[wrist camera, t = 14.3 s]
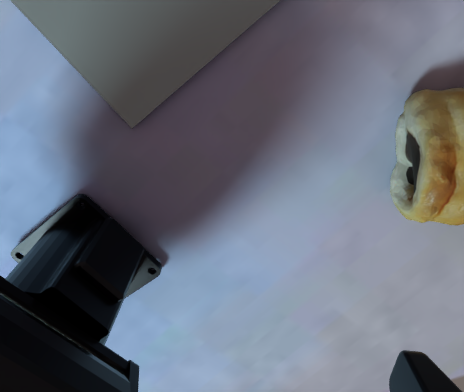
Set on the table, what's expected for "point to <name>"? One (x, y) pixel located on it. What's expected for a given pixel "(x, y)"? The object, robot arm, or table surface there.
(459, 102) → the pastry
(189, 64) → the slate mat
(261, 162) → the table surface
